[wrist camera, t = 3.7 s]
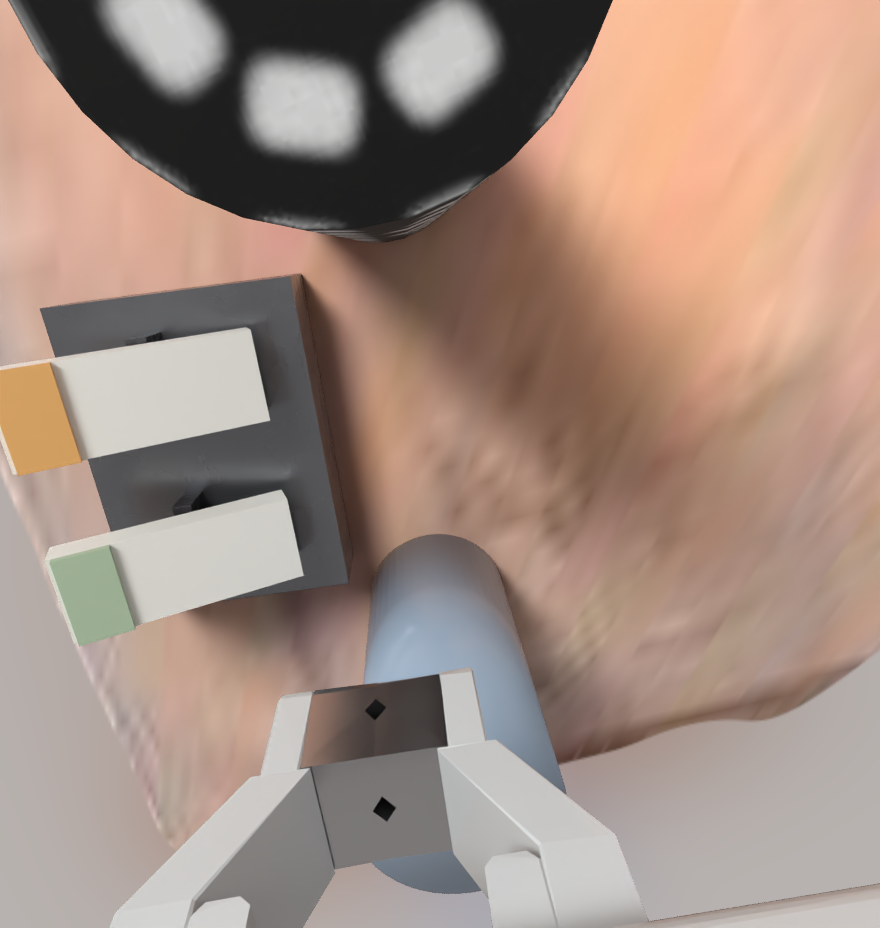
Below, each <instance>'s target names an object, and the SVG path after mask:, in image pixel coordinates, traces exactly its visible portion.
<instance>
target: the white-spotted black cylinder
mask: <svg viewBox="0 0 880 928" xmlns="http://www.w3.org/2000/svg"><path fill="white" fill-rule="evenodd" d="M8 1H9V3H10V4H11V6H12V8H13V10H14V12H15V13H16V15H17V17H18V19H19V21H20V23H21V24H22V26H23V28H24V30H25V32H26V34H27V35H28V37H29V39H30V41H31V43H32V45H33V46H34V48H35V50H36V52H37V54H38V55H39V56H40V58H41V59H42V60H43V61H44V63H45V64H46V65H47V67H48V68H49V69H50V70H51V72H52V73H53V74H54V76H55V77H56V78H57V80H58V81H59V82H60V83H61V85H62V86H63V87H64V89H65V90H66V91H67V92H68V94H69V95H70V96H71V98H72V99H73V100H74V102H75V103H76V104H77V105H78V107H79V108H80V109H81V111H82V112H83V113H84V114H85V115H86V116H87V117H89V118H90V119H91V120H92V121H93V122H94V123H95V124H96V125H97V126H98V127H99V128H100V129H101V130H102V131H104V132H105V133H106V134H107V135H108V136H109V137H110V138H111V139H112V140H113V141H114V142H115V143H116V144H117V145H119V146H120V147H121V148H122V149H123V150H124V151H125V152H126V153H127V154H128V155H129V156H130V157H131V158H132V159H134V160H135V161H137V162H138V163H140V164H142V165H143V166H145V167H146V168H148V169H149V170H151V171H152V172H154V173H155V174H157V175H158V176H160V177H161V178H163V179H165V180H166V181H168V182H169V183H171V184H172V185H174V186H175V187H177V188H178V189H180V190H181V191H183V192H184V193H186V194H188V195H190V196H193V197H195V198H197V199H200V200H202V201H205V202H207V203H209V204H212V205H214V206H217V207H219V208H221V209H224V210H226V211H229V212H231V213H233V214H236V215H238V216H241V217H243V218H247V219H252V220H257V221H262V222H267V223H272V224H277V225H282V226H287V227H292V228H296V229H301V230H307V231H312V232H317V233H322V234H327V235H332V236H337V237H343V238H348V239H353V240H358V241H363V242H389V241H394V240H398V239H403V238H406V237H408V236H410V235H412V234H415V233H417V232H419V231H421V230H422V229H424V228H425V227H427V226H428V225H429V224H431V223H432V222H434V221H435V220H436V219H438V218H439V217H440V216H441V215H443V214H444V213H445V212H446V211H448V210H449V209H450V208H451V207H453V206H454V205H455V204H456V203H458V202H459V201H460V200H461V199H463V198H464V197H465V196H466V195H468V194H469V193H470V192H471V191H473V190H474V189H475V188H476V187H478V186H479V185H480V184H481V183H483V182H484V181H485V180H486V179H488V178H489V177H490V176H491V175H493V174H494V173H495V172H496V171H498V170H499V169H500V168H501V167H503V166H504V165H505V164H506V163H508V162H509V161H510V160H511V159H512V158H513V157H514V156H515V155H516V154H517V153H518V152H519V151H520V149H521V148H522V147H523V146H524V145H525V144H526V143H527V142H528V141H529V140H530V139H531V138H532V137H533V136H534V134H535V133H536V132H537V131H538V130H539V129H540V128H541V127H542V126H543V125H544V124H545V123H546V122H547V121H548V119H549V118H550V117H551V116H552V115H553V114H554V112H555V111H556V109H557V107H558V106H559V104H560V103H561V101H562V100H563V98H564V96H565V95H566V93H567V92H568V90H569V89H570V87H571V85H572V84H573V82H574V81H575V79H576V78H577V76H578V75H579V73H580V71H581V70H582V68H583V67H584V65H585V64H586V62H587V60H588V58H589V56H590V54H591V51H592V49H593V46H594V44H595V42H596V39H597V37H598V34H599V32H600V30H601V27H602V25H603V22H604V20H605V18H606V15H607V13H608V10H609V8H610V6H611V3H612V1H613V0H8Z"/></svg>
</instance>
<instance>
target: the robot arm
mask: <svg viewBox="0 0 880 928" xmlns="http://www.w3.org/2000/svg"><path fill="white" fill-rule="evenodd" d="M440 679H441V682H440ZM441 687H442V688H441ZM445 851H453V854H454V855H455V856H456V858H457V859H458V860H459V861H460V863H461V864H462V865H463V867H464V868H465V869H466V871H467V872H468V873H469V874H470V876H471V877H472V878H473V880H474V881H475V882H476V883H477V885H478V886H479V887H480V889H481V890H482V891H483V893H484V894H485V895H486V896H487V898H488V899H489V906H490V913H491V921H492V928H880V884H873V885H867V886H861V887H855V888H849V889H843V890H837V891H831V892H825V893H819V894H813V895H806V896H800V897H795V898H788V899H782V900H776V901H770V902H764V903H758V904H752V905H746V906H740V907H734V908H727V909H721V910H715V911H709V912H703V913H697V914H691V915H685V916H679V917H673V918H667V919H660V920H654V921H649V920H648V918H647V915H646V913H645V910H644V908H643V905H642V902H641V900H640V897H639V895H638V892H637V889H636V887H635V884H634V881H633V879H632V876H631V874H630V871H629V868H628V866H627V863H626V861H625V858H624V855H623V853H622V850H621V848H620V845H619V843H618V840H617V837H616V835H615V834H614V833H613V832H612V831H611V830H609V829H608V828H607V827H606V826H604V825H603V824H601V823H600V822H599V821H598V820H597V819H596V818H594V817H593V816H592V815H590V814H589V813H588V812H587V811H585V810H584V809H583V808H582V807H581V806H579V805H578V804H577V803H576V802H574V801H573V800H572V799H571V798H569V797H568V796H567V795H566V794H564V793H563V792H562V791H561V790H559V789H558V788H557V787H556V786H554V785H553V784H552V783H551V782H549V781H548V780H547V779H546V778H544V777H543V776H542V775H541V774H539V773H538V772H537V771H536V770H534V769H533V768H532V767H531V766H529V765H528V764H527V763H526V762H524V761H523V760H522V759H521V758H519V757H518V756H517V755H516V754H514V753H513V752H512V751H511V750H509V749H508V748H507V747H506V746H504V745H503V744H502V743H501V742H499V741H498V740H496V739H495V740H488V741H487V738H486V733H485V728H484V723H483V718H482V713H481V708H480V703H479V698H478V693H477V688H476V683H475V678H474V673H473V670H472V669H471V667H467V668H462V669H456V670H451V671H445V672H440V675H439V674H434V675H428V676H421V677H415V678H408V679H402V680H395V681H389V682H382V683H371V684H364V685H356V686H348V687H340V688H332V689H324V690H316V691H315V692H313V691H310V692H303V693H296V694H289V695H283V696H282V697H281V699H280V700H279V701H278V704H277V709H276V713H275V717H274V721H273V725H272V729H271V733H270V737H269V741H268V745H267V749H266V753H265V758H264V762H263V766H262V770H261V774H260V776H254V777H250V778H249V779H248V780H247V781H246V782H245V783H244V784H243V785H242V786H241V787H240V788H239V789H238V790H237V791H236V792H235V793H234V794H233V795H232V796H231V797H230V798H229V799H228V800H227V801H226V802H225V803H224V804H223V805H222V806H221V807H220V808H219V809H218V810H217V811H216V812H215V813H214V814H213V815H212V816H211V817H210V818H209V819H208V820H207V821H206V822H205V823H204V824H203V825H202V826H201V827H200V828H199V829H198V830H197V831H196V832H195V833H194V834H193V835H192V836H191V837H190V838H189V839H188V840H187V841H186V842H185V843H184V844H183V845H182V846H181V847H180V848H179V849H178V850H177V851H176V852H175V854H173V855H172V856H171V857H170V859H168V861H166V862H165V864H164V865H163V866H162V867H161V868H160V869H159V870H158V871H157V872H156V873H155V874H154V875H153V876H152V877H151V878H150V879H149V880H148V881H147V882H146V883H145V884H144V885H143V886H142V887H141V888H140V889H139V890H138V891H137V892H136V893H135V894H134V895H133V896H132V897H131V898H130V899H129V900H128V901H127V902H126V903H125V904H124V905H123V906H122V907H121V908H120V909H119V910H118V911H117V912H116V913H115V915H114V918H113V920H112V923H111V925H110V927H109V928H303V926H304V925H305V923H306V921H307V920H308V918H309V916H310V914H311V913H312V911H313V909H314V908H315V906H316V904H317V903H318V901H319V899H320V898H321V896H322V894H323V893H324V891H325V889H326V888H327V886H328V884H329V882H330V881H331V879H332V877H333V876H334V874H335V871H334V869H339V868H344V867H350V866H354V865H360V864H365V863H370V862H376V861H381V860H386V859H392V858H399V857H406V856H414V855H422V854H430V853H437V852H445Z"/></svg>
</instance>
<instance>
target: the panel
mask: <svg viewBox="0 0 880 928" xmlns="http://www.w3.org/2000/svg"><path fill="white" fill-rule="evenodd" d="M40 311H41V314H42V317H43V320H44V323H45V326H46V329H47V333H48V336H49V339H50V342H51V345H52V348H53V351H54V355H55V358H57V357H63V356H69V355H75V354H82V353H88V352H94V351H100V350H107V349H113V348H119V347H125V346H132V345H138V344H144V343H150V342H157V341H163V340H169V339H175V338H182V337H188V336H194V335H200V334H207V333H213V332H219V331H225V330H232V329H238V328H244V327H246V328H248V329H250V330H251V334H252V338H253V343H254V348H255V352H256V357H257V362H258V366H259V371H260V376H261V380H262V385H263V389H264V394H265V399H266V403H267V408H268V413H269V417H270V421H266V422H261V423H256V424H252V425H247V426H242V427H237V428H233V429H228V430H223V431H219V432H214V433H209V434H204V435H200V436H195V437H190V438H185V439H181V440H176V441H171V442H167V443H162V444H157V445H152V446H148V447H143V448H138V449H133V450H129V451H124V452H119V453H115V454H110V455H105V456H100V457H96V458H91V459H88V461H89V465H90V468H91V471H92V474H93V477H94V480H95V483H96V487H97V490H98V493H99V496H100V499H101V502H102V505H103V509H104V512H105V515H106V518H107V521H108V524H109V527H110V531H111V532H113V531H117V530H121V529H125V528H129V527H133V526H137V525H141V524H145V523H149V522H153V521H157V520H161V519H165V518H169V517H173V516H177V515H181V514H185V513H189V512H193V511H197V510H201V509H205V508H209V507H213V506H217V505H221V504H225V503H229V502H233V501H237V500H241V499H245V498H249V497H253V496H257V495H261V494H265V493H269V492H273V491H277V490H282V491H283V493H284V495H285V496H286V498H287V501H288V505H289V510H290V515H291V519H292V524H293V529H294V533H295V538H296V542H297V547H298V552H299V556H300V561H301V566H302V570H303V575H304V576H301V577H297V578H294V579H291V580H287V581H284V582H281V583H277V584H274V585H271V586H267V587H264V588H261V589H257V590H254V591H251V592H247V593H244V594H240V595H237V596H234V597H230V598H227V599H224V600H231V599H238V598H246V597H253V596H260V595H267V594H275V593H282V592H289V591H296V590H304V589H311V588H318V587H325V586H333V585H340V584H347V583H349V578H350V571H351V565H352V558H353V551H352V546H351V541H350V535H349V530H348V524H347V519H346V514H345V508H344V503H343V497H342V492H341V487H340V481H339V476H338V470H337V465H336V459H335V454H334V449H333V443H332V438H331V432H330V427H329V422H328V416H327V411H326V405H325V400H324V395H323V389H322V384H321V378H320V373H319V368H318V362H317V357H316V351H315V346H314V341H313V335H312V330H311V324H310V319H309V314H308V308H307V303H306V297H305V292H304V287H303V281H302V276H301V273H300V274H293V275H285V276H277V277H269V278H262V279H254V280H246V281H239V282H231V283H223V284H215V285H208V286H200V287H192V288H185V289H177V290H169V291H161V292H154V293H146V294H138V295H131V296H123V297H115V298H107V299H100V300H92V301H84V302H77V303H70V304H64V305H58V306H52V307H46V308H40ZM224 600H220V601H224Z"/></svg>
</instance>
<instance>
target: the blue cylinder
mask: <svg viewBox="0 0 880 928" xmlns="http://www.w3.org/2000/svg"><path fill="white" fill-rule="evenodd" d="M467 667H471V669H472V670H473V673H474V678H475V683H476V688H477V693H478V698H479V703H480V708H481V713H482V718H483V723H484V728H485V733H486V738H487V741H488V740H495V739H496V740H498V741H499V742H501V743H502V744H503V745H504V746H506V747H507V748H508V749H509V750H511V751H512V752H513V753H514V754H516V755H517V756H518V757H519V758H521V759H522V760H523V761H524V762H526V763H527V764H528V765H529V766H531V767H532V768H533V769H534V770H536V771H537V772H538V773H539V774H541V775H542V776H543V777H544V778H546V779H547V780H548V781H549V782H551V783H552V784H553V785H554V786H556V787H557V788H558V789H559V790H561V791H562V792H563V793H564V794H566V790H565V785H564V782H563V779H562V776H561V773H560V769H559V766H558V763H557V759H556V756H555V753H554V750H553V746H552V743H551V740H550V737H549V733H548V730H547V727H546V723H545V720H544V717H543V714H542V710H541V707H540V704H539V701H538V697H537V694H536V691H535V688H534V684H533V681H532V678H531V675H530V671H529V668H528V665H527V662H526V658H525V655H524V652H523V648H522V645H521V642H520V639H519V635H518V632H517V629H516V626H515V622H514V619H513V616H512V613H511V609H510V606H509V603H508V600H507V596H506V593H505V590H504V587H503V583H502V580H501V577H500V574H499V571H498V569H497V567H496V565H495V563H494V562H493V560H492V559H491V558H490V556H489V555H488V554H487V553H486V552H485V551H484V550H482V549H481V548H480V547H479V546H477V545H475V544H474V543H472V542H470V541H468V540H466V539H463V538H460V537H457V536H452V535H443V534H435V535H426V536H421V537H418V538H414V539H411V540H409V541H407V542H405V543H403V544H401V545H400V546H398V547H397V548H395V549H394V550H393V551H392V552H391V553H389V554H388V556H387V557H386V558H385V559H384V560H383V561H382V563H381V564H380V566H379V567H378V569H377V571H376V573H375V576H374V579H373V582H372V587H371V598H370V610H369V622H368V634H367V646H366V658H365V669H364V681H363V685H364V684H371V683H382V682H389V681H395V680H402V679H408V678H415V677H421V676H428V675H434V674H439V675H440V672H445V671H451V670H456V669H462V668H467ZM440 682H441V679H440ZM441 688H442V687H441ZM371 863H373V864H374V866H375V867H376V868H378V869H379V870H380V871H381V872H383V873H384V874H385V875H387V876H389V877H390V878H392V879H394V880H396V881H397V882H400V883H402V884H404V885H406V886H409V887H412V888H415V889H419V890H423V891H428V892H434V893H444V894H445V893H446V894H460V893H470V892H476V891H481V889H480V887H479V886H478V885H477V883H476V882H475V881H474V880H473V878H472V877H471V876H470V874H469V873H468V872H467V871H466V869H465V868H464V867H463V865H462V864H461V863H460V861H459V860H458V859H457V858H456V856H455V855H454V854H453V851H445V852H437V853H430V854H422V855H414V856H406V857H399V858H392V859H386V860H381V861H376V862H371Z"/></svg>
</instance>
